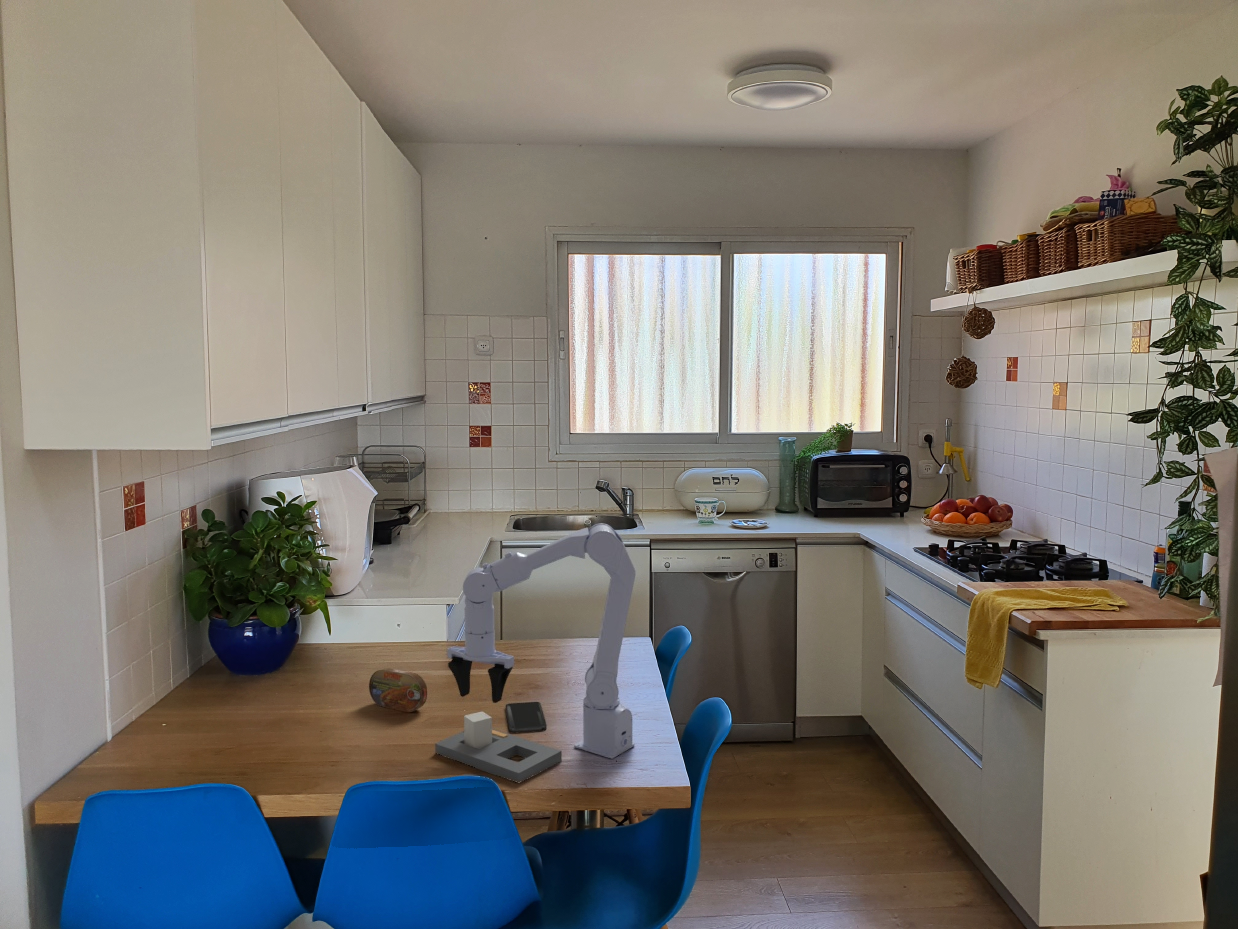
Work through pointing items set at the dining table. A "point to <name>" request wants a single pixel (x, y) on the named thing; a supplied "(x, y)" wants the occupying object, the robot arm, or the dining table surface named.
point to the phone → (525, 717)
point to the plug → (477, 730)
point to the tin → (398, 689)
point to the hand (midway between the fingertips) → (480, 698)
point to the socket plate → (501, 755)
